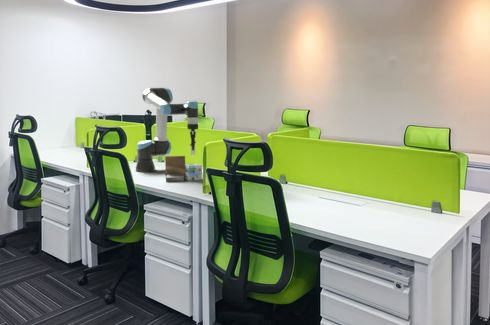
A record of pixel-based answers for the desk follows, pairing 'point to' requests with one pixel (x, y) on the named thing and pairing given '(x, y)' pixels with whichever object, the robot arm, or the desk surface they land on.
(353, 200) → the desk surface
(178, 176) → the brown box
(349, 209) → the desk surface
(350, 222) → the desk surface
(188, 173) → the light bulb box
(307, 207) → the desk surface
